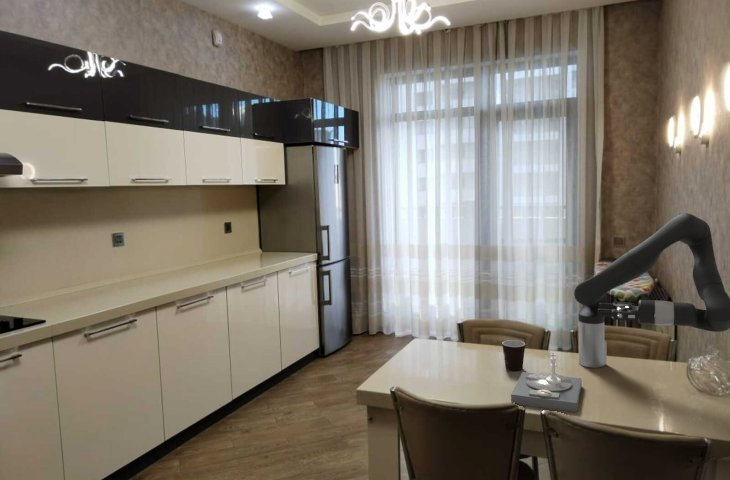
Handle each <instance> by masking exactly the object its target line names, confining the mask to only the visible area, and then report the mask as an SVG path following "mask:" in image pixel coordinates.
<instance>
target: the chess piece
mask: <svg viewBox="0 0 730 480" xmlns="http://www.w3.org/2000/svg"><path fill="white" fill-rule="evenodd" d="M549 356H550V358H549V360H550V362H551V363H550V364H549V367H551V370H550V373H551V376H550V377H547V378H546V382H548V383H551V384H559V383H561V379H560V378H558V377H557V376H556V374H557V373H556V368H555V367H557V364H556V361H557V358H556V357H555V356H557V354H556V353H554V352H551V354H550V355H549Z"/></svg>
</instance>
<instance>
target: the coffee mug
mask: <svg viewBox="0 0 730 480" xmlns="http://www.w3.org/2000/svg"><path fill="white" fill-rule="evenodd" d="M501 343H502V344H501V345H502V351H503V352H502V353H503V358H504V359H503V360H504V366H505V367H504V368H505V370H507V371H509V372H521V371H522V370H523V368H524V361H525V360H524V359H525V349H526V343H525V342H524V341H521V340H517V339H516V340H515V339H513V340H512V339H510V340H509V339H507V340H505V341H502V342H501Z"/></svg>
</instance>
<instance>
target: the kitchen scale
mask: <svg viewBox="0 0 730 480" xmlns="http://www.w3.org/2000/svg"><path fill="white" fill-rule="evenodd" d="M550 376H551V372H527V371H522V372H521V374H520V376H519V378H518V380H517V382H516V383H515V386H514V387H513V390H512V392H511V393H510V403H511V402H515V403H518V404H517V405H521V406H522V405H523V406H529V407H536V408H542V407H543V408H544V409H551V410H557V411H564V412H573V413H577V412H578V407H579V401H580V398H581V397H580V396H581V392H582V385H583V384H582V382H583V381H582V377H581V378H580V377H573V376H564V375H563V374H558V373H556V376H557V377H558V378H560V379H561V383H559V384H551V383H548V382H546V378H547V377H550Z"/></svg>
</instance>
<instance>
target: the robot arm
mask: <svg viewBox="0 0 730 480" xmlns="http://www.w3.org/2000/svg"><path fill="white" fill-rule="evenodd" d="M711 232H712V231H711V228H710V226H709V224H708V223H707V222H706V220H705V221H704V220H703V219H701V218H699V217H698V216H696V215H693V214H692V213H687V212H683V213H680V214H678V215H676V216H674V217H673V218H672V219H670V220H669V221H668V222H666V223H665V224H664V225H663V226H662V227H661V228H660V229H658V230H657V231H655V232H654V233H653V234H652V235H651V236H649V237H648V238H646V239H645V240H643V241H642V242H641V243H639V244H638V245H636V246H634V247H633V248H631V249H630V250H628V251H627V252H625V253H624V254H622V255H621V256H620V257H618V258H617V259H616V260H614V261H613V262H611V263H610V264H609V265H608V266H607V267H605V268H604V269H603V270H601V271H600V272H599V273H597V274H595V275H594V276H592V277H590V278H587V279H586V280H584V281H582V282H580V283H578V284H577V285H576V286H575V289H574V292H573V293H574V294H573V296H574V299H575V301H576V302H577V303H579V304H580V305H582V307H581V310H580V311H579V313H578V364H579V365H580V366H583V367H585V368H593V369H594V368H602V367H603V368H604V366H606V365H607V364H608V362H607V352H608V351H607V349H608V348H607V347H608V346H607V342H608V341H607V340H606V339H605V319H606V318H611V319H612V320H615V321H616V320H617V321H636V318H638V324H640V325H653V326H680V327H681V326H682V327H692V328H694V329H700V330H704V331H708V332H713V333H717V332H718V333H721V332H722V333H723V332H725V331H728V330H730V296H729V295H728V293H727V291H726V289H725V286H724V283H723V281H722V277H721V275H720V272H719V269H718V266H717V262H716V257H715V252H714V245H713V238H712V233H711ZM677 242H678V243H679V242H681V243H682V244H684V245H687V246H688V248H689V249H690V252H691V253H692V255H693V259H694V261H693V262H694V263H693V269H692V280H693V283H694V285H695V288H696V292H697V295H698V296H699V298H700V299H701V300H702V301H703V302H704V305H705V309H701V308H697V307H696V306H695V305H694V304H693V303H691V302H690V303H689V302H680V301H678V302H676V301H667V300H652V299H639V300H638V305H635V303H634V302H624V301H623V302H622V301H613V302H612V303H609V302H608V292H610V291H612V290H614V289H616V288H617V287H620V286H622V285H625V284H628V283H629V282H632V281H633V280H636V279H638V278H639V277H641V276H643V275H644V274H646V273H647V272H649V271H651V270H652V269H653V268H654V266H655V265H656V263H657V262H658V260H659V258H660V255H661V254H662V253H663V252H664V251H665V250H666V249H667V248H669V247H670V246H672V245H673V244H676V243H677Z"/></svg>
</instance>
